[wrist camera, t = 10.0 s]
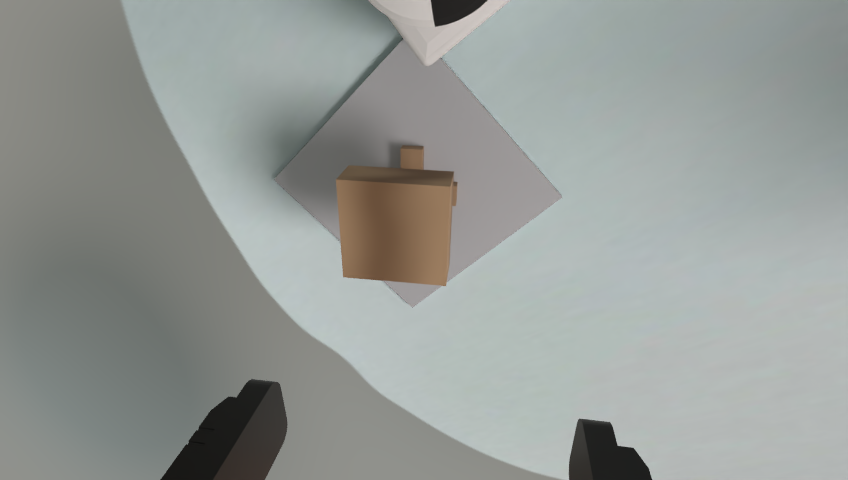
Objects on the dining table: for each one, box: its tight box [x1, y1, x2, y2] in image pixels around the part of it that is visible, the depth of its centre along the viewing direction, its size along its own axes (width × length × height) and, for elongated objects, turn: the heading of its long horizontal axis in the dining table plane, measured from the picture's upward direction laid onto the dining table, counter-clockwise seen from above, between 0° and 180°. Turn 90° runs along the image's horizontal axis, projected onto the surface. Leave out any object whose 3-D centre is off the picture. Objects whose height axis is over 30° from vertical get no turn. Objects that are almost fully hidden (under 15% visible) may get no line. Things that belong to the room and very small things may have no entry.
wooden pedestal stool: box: [336, 145, 458, 286], centre depth 28 cm, size 6×6×7 cm
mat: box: [274, 39, 562, 308], centre depth 31 cm, size 14×14×1 cm
